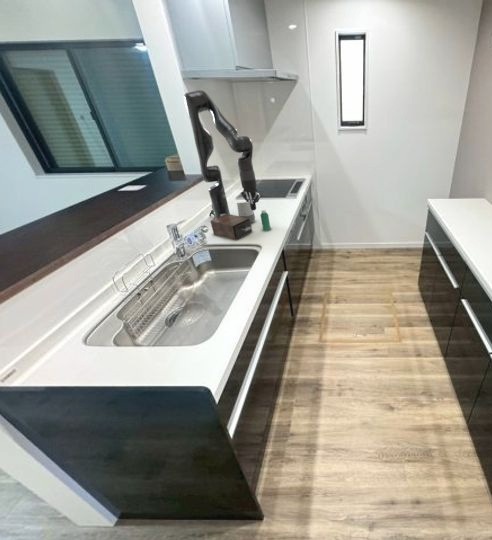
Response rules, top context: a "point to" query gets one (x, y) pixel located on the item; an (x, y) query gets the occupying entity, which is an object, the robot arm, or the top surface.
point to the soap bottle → (265, 221)
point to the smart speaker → (246, 211)
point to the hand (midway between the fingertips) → (253, 209)
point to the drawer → (242, 229)
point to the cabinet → (227, 225)
